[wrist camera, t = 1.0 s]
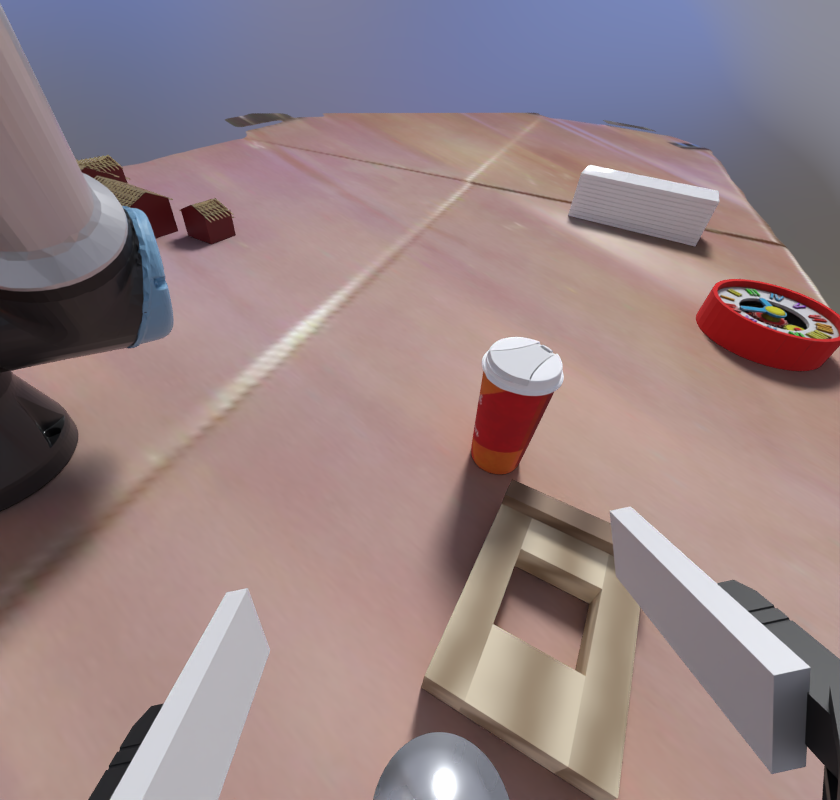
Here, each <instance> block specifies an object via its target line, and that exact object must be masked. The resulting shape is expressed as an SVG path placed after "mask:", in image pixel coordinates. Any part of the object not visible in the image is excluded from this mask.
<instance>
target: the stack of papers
mask: <svg viewBox="0 0 840 800" xmlns="http://www.w3.org/2000/svg"><path fill="white" fill-rule="evenodd" d="M718 203H719V192H718V191H716V190H711V189H706V188H701V187H696V186H691V185H686V184H681V183H676V182H671V181H666V180H661V179H657V178H652V177H646V176H642V175H637V174H632V173H627V172H622V171H617V170H612V169H607V168H603V167H598V166H593V165H589V166H588V167H587V168H586V169H585V170H584V171H583V172H582V173H581V176H580V179H579V182H578V186H577V188H576V192H575V195H574V198H573V202H572V204H571V209H570V211H569V214H568V216H572V217H576V218H580V219H584V220H588V221H592V222H596V223H601V224H605V225H609V226H613V227H617V228H621V229H625V230H629V231H634V232H638V233H642V234H646V235H650V236H654V237H658V238H663V239H667V240H671V241H675V242H679V243H683V244H687V245H691V246H696V244H697V242H698V241H699V239H700V237H701V235H702V233H703V231H704V229H705V227H706V226H707V223H708V222H709V220H710V218H711V216H712V214H713V213H714V210H715V209H716V207H717V205H718Z"/></svg>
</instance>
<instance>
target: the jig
mask: <svg viewBox="0 0 840 800" xmlns="http://www.w3.org/2000/svg"><path fill="white" fill-rule="evenodd" d="M514 566H516V567H518V568H520V569H522V570H524V571H526V572H528V573H530V574H532V575H534V576H536V577H538V578H540V579H542V580H544V581H546V582H547V583H549V584H551V585H553V586H555V587H557V588H559V589H561V590H563V591H565V592H567V593H569V594H571V595H573V596H575V597H577V598H579V599H581V600H583V601H585V602H587V603H589V607H588V612H587V617H586V622H585V626H584V631H583V636H582V641H581V645H580V650H579V655H578V660H577V665H576V669H575V670H574V669H572V668H570V667H568V666H567V665H565V664H563V663H561V662H560V661H558V660H556V659H554V658H553V657H551V656H549V655H547V654H545V653H544V652H542V651H540V650H538V649H537V648H535V647H533V646H531V645H529V644H528V643H526V642H524V641H522V640H521V639H519V638H517V637H515V636H513V635H512V634H510V633H508V632H506V631H505V630H503V629H501V628H499V627H497V626H496V625H494V624H493V623H494V620H495V617H496V615H497V612H498V609H499V606H500V604H501V601H502V598H503V596H504V593H505V590H506V587H507V585H508V582H509V579H510V577H511V574H512V571H513V569H514ZM639 614H640V606H639V605H638V604H637V602H636V601H635V600H634V599H633V597H632V596H631V595H630V593H629V592H628V591H627V590H626V588H625V587H624V586H623V585H622V583H621V582H620V581H619V580H618V578H617V577H616V573H615V562H614V551H613V541H612V530H611V523H609V522H606V521H604V520H602V519H600V518H597V517H595V516H593V515H591V514H588V513H586V512H584V511H582V510H579V509H577V508H575V507H573V506H571V505H568V504H566V503H564V502H562V501H559V500H557V499H555V498H553V497H550V496H548V495H546V494H544V493H541V492H539V491H537V490H535V489H533V488H530V487H528V486H526V485H524V484H521V483H519V482H517V481H515V480H511V483H510V485H509V487H508V489H507V492H506V494H505V496H504V499H503V502H502V504H501V506H500V509H499V511H498V513H497V515H496V518H495V520H494V522H493V524H492V527H491V529H490V531H489V533H488V535H487V538H486V540H485V542H484V544H483V547H482V549H481V551H480V553H479V556H478V558H477V560H476V562H475V564H474V567H473V569H472V571H471V573H470V576H469V578H468V580H467V582H466V585H465V587H464V589H463V591H462V594H461V596H460V598H459V600H458V602H457V605H456V607H455V609H454V611H453V614H452V616H451V618H450V620H449V623H448V625H447V627H446V629H445V632H444V634H443V636H442V638H441V640H440V643H439V645H438V647H437V649H436V652H435V654H434V656H433V658H432V661H431V663H430V665H429V667H428V669H427V672H426V674H425V676H424V680H423V683H422V686H421V688H422V689H424V690H426V691H427V692H429V693H430V694H432V695H433V696H435V697H436V698H438V699H439V700H441V701H443V702H444V703H446V704H447V705H449V706H450V707H452V708H453V709H455V710H456V711H458V712H460V713H461V714H463V715H464V716H466V717H467V718H469V719H470V720H472V721H474V722H475V723H477V724H478V725H480V726H481V727H483V728H484V729H486V730H487V731H489V732H491V733H492V734H494V735H495V736H497V737H498V738H500V739H501V740H503V741H504V742H506V743H508V744H509V745H511V746H512V747H514V748H515V749H517V750H518V751H520V752H521V753H523V754H525V755H526V756H528V757H529V758H531V759H532V760H534V761H535V762H537V763H539V764H540V765H542V766H543V767H545V768H546V769H548V770H549V771H551V772H552V773H554V774H556V775H557V776H559V777H560V778H562V779H563V780H565V781H566V782H568V783H569V784H571V785H573V786H574V787H576V788H577V789H579V790H580V791H582V792H583V793H585V794H586V795H588V796H590V797H591V798H593V799H594V800H614V799H618V793H619V785H620V776H621V767H622V759H623V750H624V742H625V733H626V725H627V716H628V708H629V699H630V691H631V682H632V673H633V665H634V656H635V648H636V639H637V631H638V622H639Z"/></svg>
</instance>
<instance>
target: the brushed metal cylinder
mask: <svg viewBox="0 0 840 800" xmlns="http://www.w3.org/2000/svg"><path fill="white" fill-rule="evenodd" d="M373 800H509V797H508V794H507V791H506V789H505V786H504V784H503V782H502V780H501V778H500V776H499V774H498V772H497V770H496V769H495V767H494V766H493V764H492V763H491V761H490V760H489V759H488V758H487V756H486V755H485V754H484V753H483V752H482V751H481V750H480V749H479V748H478V747H476V746H475V745H474V744H472V743H471V742H470V741H468V740H466V739H464V738H463V737H460V736H457V735H455V734H451V733H446V732H434V733H427V734H424V735H421V736H419V737H416V738H414V739H412V740H411V741H409V742H408V743H407V744H405V745H404V746H403V747H402V748H401V749H400V750H398V752H397V753H396V754H395V755H394V756H393V757H392V759H391V760H390V762H389V763H388V765H387V766H386V768H385V770H384V772H383V773H382V775H381V777H380V780H379V782H378V785H377V788H376V791H375V794H374V798H373Z"/></svg>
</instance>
